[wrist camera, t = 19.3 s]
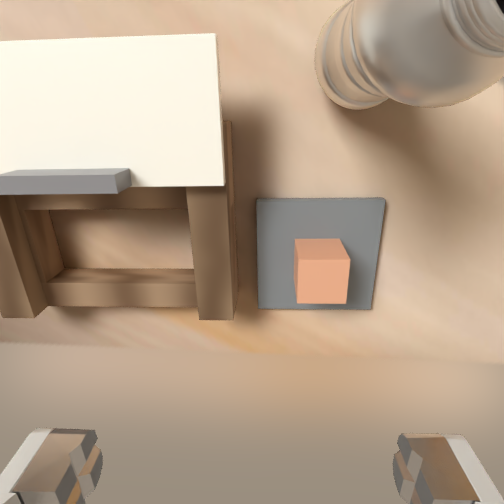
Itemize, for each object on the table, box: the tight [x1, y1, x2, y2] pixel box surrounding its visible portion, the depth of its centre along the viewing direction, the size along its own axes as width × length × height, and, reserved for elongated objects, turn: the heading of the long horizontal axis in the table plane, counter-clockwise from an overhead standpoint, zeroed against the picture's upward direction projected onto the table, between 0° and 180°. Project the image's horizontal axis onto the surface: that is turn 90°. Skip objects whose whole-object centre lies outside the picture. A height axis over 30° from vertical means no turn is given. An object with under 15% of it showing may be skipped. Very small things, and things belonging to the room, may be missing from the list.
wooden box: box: [0, 121, 238, 320], centre depth 29 cm, size 21×16×5 cm
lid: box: [0, 33, 226, 195], centre depth 21 cm, size 21×9×3 cm, turn 91°
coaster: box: [256, 198, 385, 310], centre depth 31 cm, size 11×11×1 cm
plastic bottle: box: [315, 0, 504, 110], centre depth 16 cm, size 6×7×20 cm
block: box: [294, 239, 350, 304], centre depth 29 cm, size 4×4×4 cm
